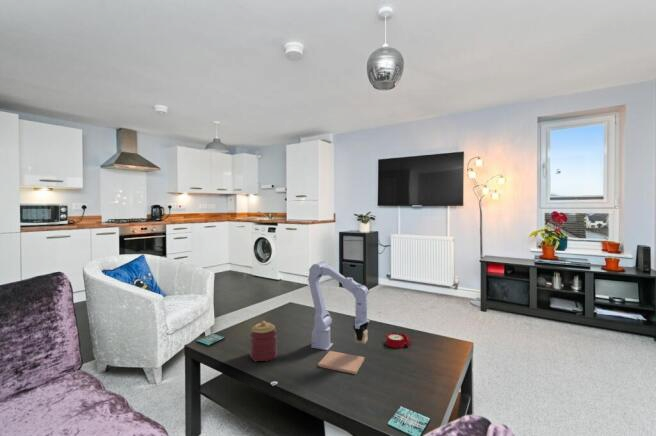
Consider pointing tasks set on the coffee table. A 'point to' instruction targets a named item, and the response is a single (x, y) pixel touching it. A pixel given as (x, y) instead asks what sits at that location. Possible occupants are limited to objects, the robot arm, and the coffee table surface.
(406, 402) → the coffee table surface
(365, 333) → the maple cube
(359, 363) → the terracotta tile
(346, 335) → the coffee table surface
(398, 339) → the alarm clock
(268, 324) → the canister
